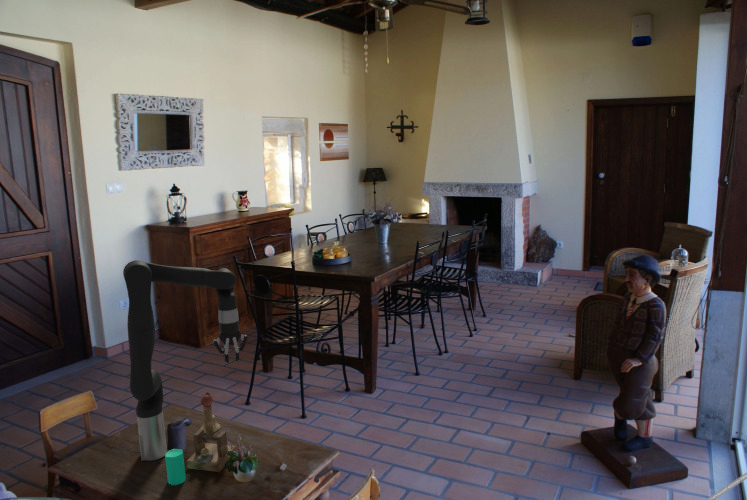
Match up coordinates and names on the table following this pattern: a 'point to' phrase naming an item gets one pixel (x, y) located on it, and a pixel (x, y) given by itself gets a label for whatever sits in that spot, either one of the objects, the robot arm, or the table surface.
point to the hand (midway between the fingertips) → (232, 361)
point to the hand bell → (215, 424)
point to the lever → (208, 417)
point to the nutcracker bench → (213, 462)
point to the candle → (175, 466)
